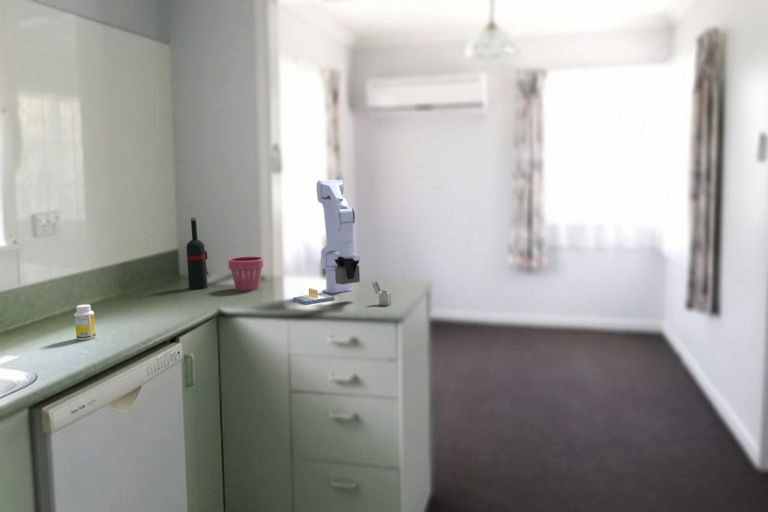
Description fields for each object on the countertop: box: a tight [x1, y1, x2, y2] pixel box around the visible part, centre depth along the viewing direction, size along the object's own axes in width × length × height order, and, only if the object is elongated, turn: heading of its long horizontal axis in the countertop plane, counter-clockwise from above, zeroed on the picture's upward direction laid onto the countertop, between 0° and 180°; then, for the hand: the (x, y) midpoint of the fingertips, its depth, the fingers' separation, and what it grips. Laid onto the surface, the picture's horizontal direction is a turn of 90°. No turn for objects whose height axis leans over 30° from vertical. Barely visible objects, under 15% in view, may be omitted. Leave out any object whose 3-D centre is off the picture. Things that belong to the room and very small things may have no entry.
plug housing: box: [335, 264, 361, 285], centre depth 260 cm, size 4×8×6 cm, turn 126°
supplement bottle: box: [74, 304, 97, 341], centre depth 216 cm, size 6×6×10 cm
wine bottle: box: [185, 216, 210, 291], centre depth 299 cm, size 8×10×30 cm
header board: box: [292, 287, 335, 306], centre depth 264 cm, size 12×10×4 cm
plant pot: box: [228, 256, 264, 292], centre depth 293 cm, size 14×14×13 cm
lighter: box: [371, 280, 392, 306], centre depth 253 cm, size 7×2×8 cm, turn 54°
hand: (347, 278), depth 260 cm, fingers closed on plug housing, 4 cm apart
